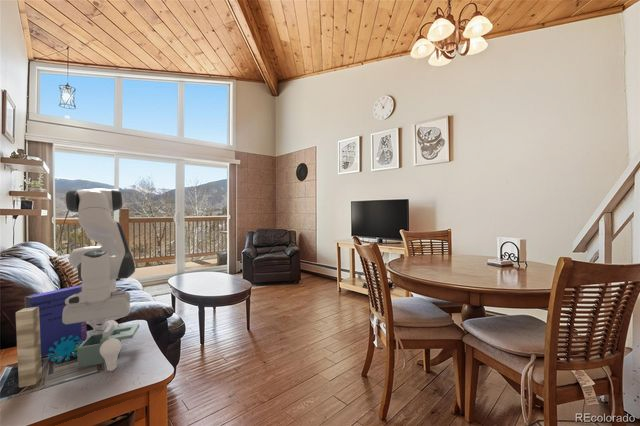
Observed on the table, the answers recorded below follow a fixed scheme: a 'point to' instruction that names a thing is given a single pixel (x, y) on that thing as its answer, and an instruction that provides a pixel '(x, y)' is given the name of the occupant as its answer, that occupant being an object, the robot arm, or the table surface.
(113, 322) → the penguin figurine
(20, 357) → the beige tall ridged block
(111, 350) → the lightbulb
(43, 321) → the cereal box
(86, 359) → the green open box
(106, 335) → the lid
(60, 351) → the gear
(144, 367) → the table surface
